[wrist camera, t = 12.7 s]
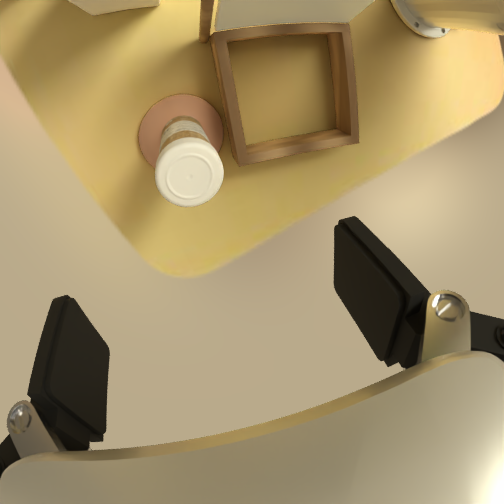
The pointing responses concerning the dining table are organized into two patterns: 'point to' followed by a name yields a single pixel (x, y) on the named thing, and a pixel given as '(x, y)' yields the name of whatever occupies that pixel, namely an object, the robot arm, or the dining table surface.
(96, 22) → the dining table surface
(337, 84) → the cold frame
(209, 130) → the saucer
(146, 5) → the milk carton
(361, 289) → the robot arm
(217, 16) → the frame lid
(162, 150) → the sprinkles bottle
